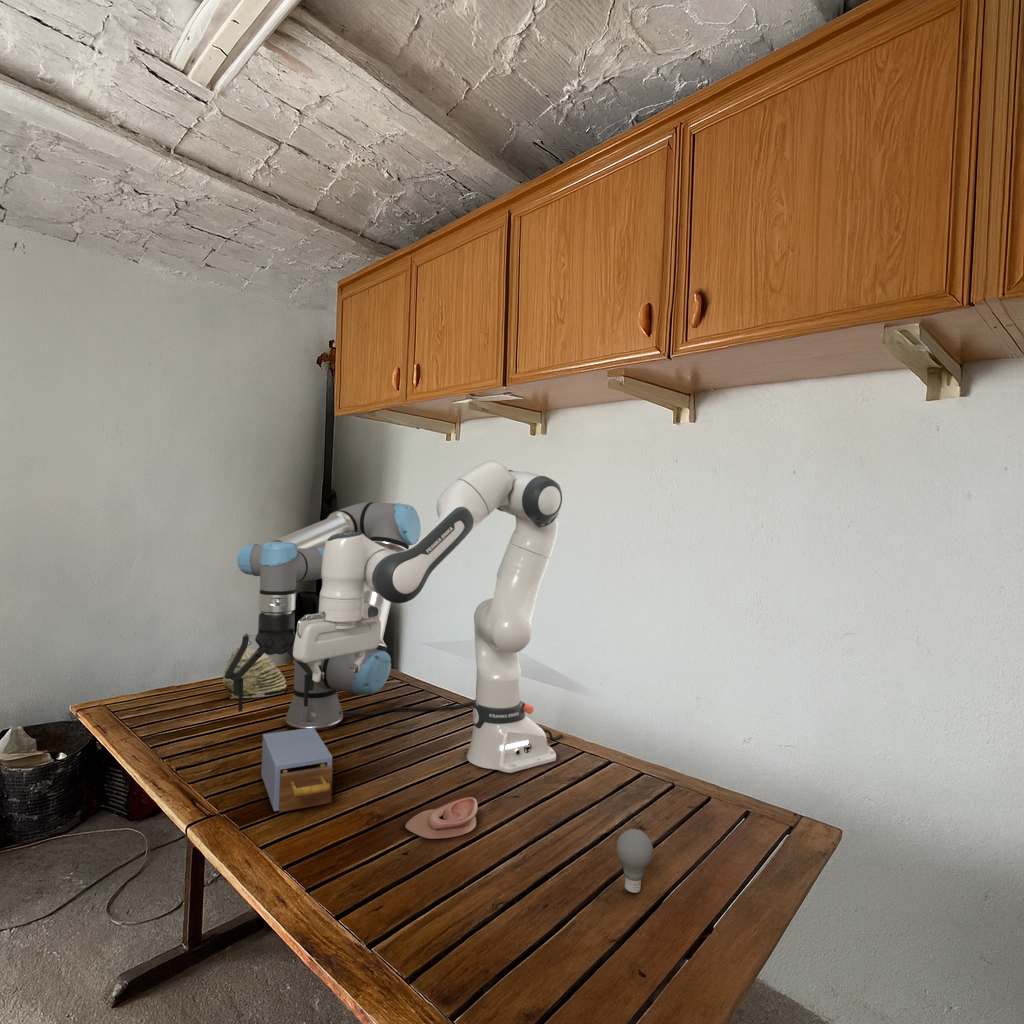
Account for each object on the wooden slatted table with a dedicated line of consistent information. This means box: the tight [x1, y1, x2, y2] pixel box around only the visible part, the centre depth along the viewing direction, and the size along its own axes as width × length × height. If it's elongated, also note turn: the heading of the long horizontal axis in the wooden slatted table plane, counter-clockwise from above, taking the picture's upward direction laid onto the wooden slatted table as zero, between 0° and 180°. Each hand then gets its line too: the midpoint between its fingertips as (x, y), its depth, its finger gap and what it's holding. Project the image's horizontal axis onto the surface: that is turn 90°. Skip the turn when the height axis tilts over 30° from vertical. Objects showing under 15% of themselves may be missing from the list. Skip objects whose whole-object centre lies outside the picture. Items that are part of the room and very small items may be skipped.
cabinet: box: [260, 727, 333, 812], centre depth 137 cm, size 18×11×9 cm, turn 29°
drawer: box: [278, 763, 334, 813], centre depth 132 cm, size 22×10×7 cm, turn 29°
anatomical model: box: [404, 796, 479, 840], centre depth 124 cm, size 13×4×12 cm
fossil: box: [222, 646, 288, 699], centre depth 198 cm, size 9×18×15 cm, turn 132°
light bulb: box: [615, 828, 654, 894], centre depth 106 cm, size 6×6×10 cm
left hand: (273, 707), depth 141 cm, fingers open, 13 cm apart
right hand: (336, 676), depth 131 cm, fingers open, 8 cm apart
